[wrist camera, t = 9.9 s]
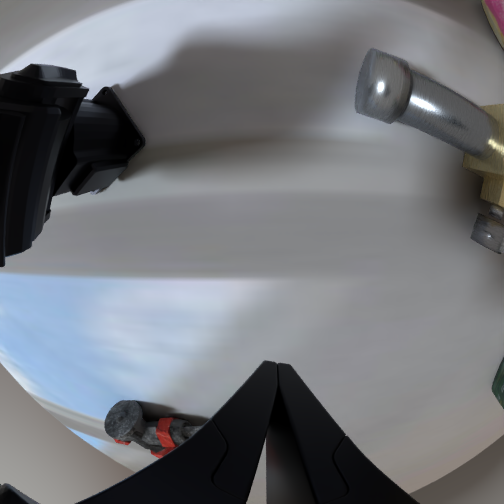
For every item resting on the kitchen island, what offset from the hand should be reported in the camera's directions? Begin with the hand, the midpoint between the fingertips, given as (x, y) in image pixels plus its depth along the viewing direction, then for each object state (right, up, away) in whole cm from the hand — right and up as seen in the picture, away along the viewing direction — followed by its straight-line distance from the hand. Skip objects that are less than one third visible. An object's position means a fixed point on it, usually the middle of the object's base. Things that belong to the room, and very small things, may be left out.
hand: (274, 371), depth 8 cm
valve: (-8, -20, +22) cm, 31 cm away
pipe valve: (+15, +11, +7) cm, 20 cm away
